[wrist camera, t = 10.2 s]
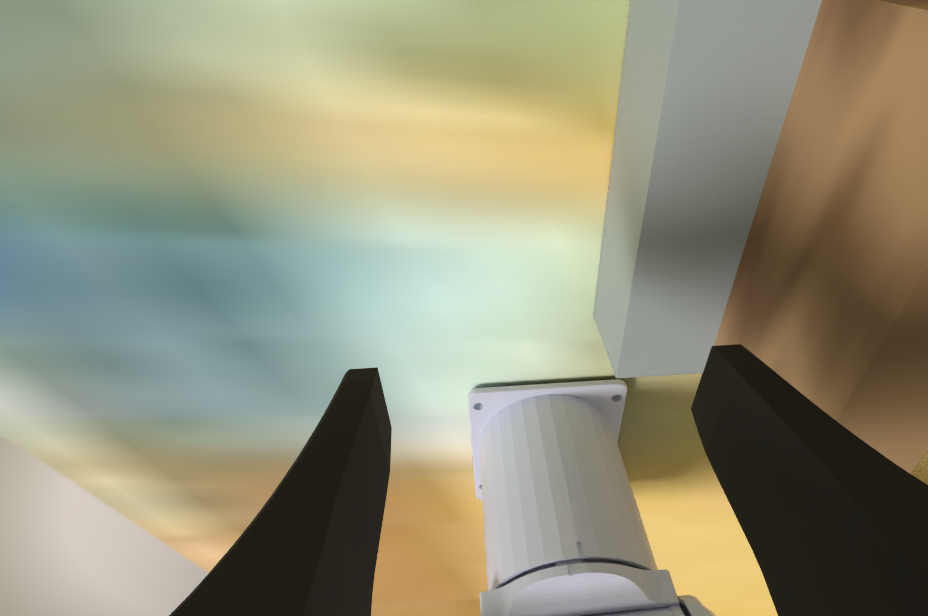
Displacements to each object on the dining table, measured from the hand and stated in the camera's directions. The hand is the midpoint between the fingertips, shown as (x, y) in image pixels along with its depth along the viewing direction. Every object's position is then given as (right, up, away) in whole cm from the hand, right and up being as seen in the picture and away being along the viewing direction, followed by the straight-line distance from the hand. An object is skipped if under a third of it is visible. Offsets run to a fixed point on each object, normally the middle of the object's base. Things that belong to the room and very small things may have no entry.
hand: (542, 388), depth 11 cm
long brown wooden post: (+9, +5, +5) cm, 11 cm away
